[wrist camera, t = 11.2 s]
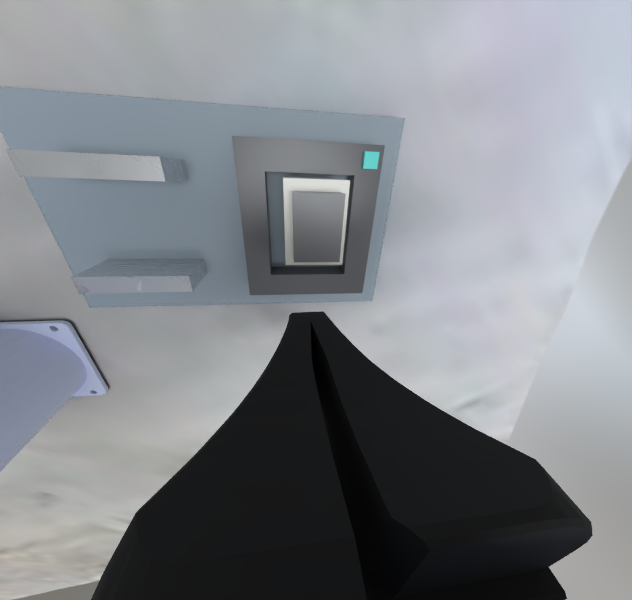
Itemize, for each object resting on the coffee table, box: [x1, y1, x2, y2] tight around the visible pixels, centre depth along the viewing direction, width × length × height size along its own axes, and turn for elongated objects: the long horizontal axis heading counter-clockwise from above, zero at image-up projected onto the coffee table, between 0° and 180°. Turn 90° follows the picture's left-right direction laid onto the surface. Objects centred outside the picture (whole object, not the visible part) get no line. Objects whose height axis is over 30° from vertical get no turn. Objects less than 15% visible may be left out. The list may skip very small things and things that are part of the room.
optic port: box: [232, 136, 385, 295], centre depth 15 cm, size 8×9×2 cm
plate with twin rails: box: [6, 149, 208, 294], centre depth 13 cm, size 6×7×3 cm
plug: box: [283, 177, 350, 265], centre depth 13 cm, size 3×4×6 cm
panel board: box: [0, 87, 405, 307], centre depth 15 cm, size 21×12×1 cm, turn 88°
